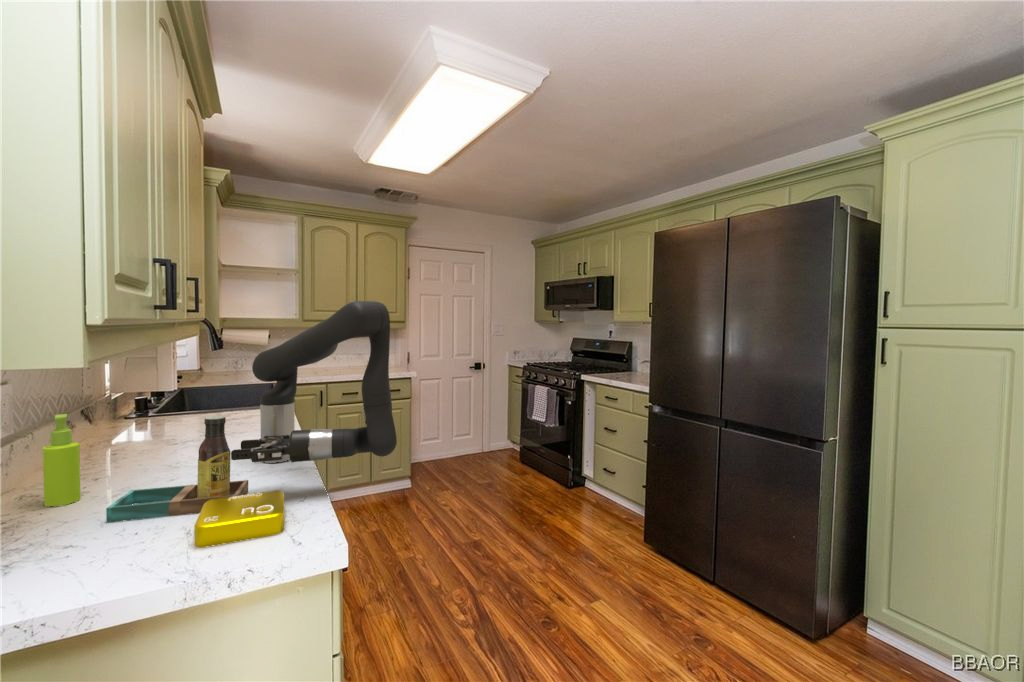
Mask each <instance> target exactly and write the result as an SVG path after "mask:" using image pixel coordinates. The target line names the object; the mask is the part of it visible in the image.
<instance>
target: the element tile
mask: <svg viewBox="0 0 1024 682" xmlns="http://www.w3.org/2000/svg"><path fill="white" fill-rule="evenodd" d="M198 514H199V515H198V516H197V519H196V521H195V524H194V528H193V529H194V530H193V532H194V533H193V534H194V538H193V539H194V546H195V548H207V547H206V546H209V547H213V546H212V545H215V546H219V545H218V544H220V545H223V544H222V543H226V544H230V542H232V543H235V542H234V541H237V542H241V541H240V540H243V541H247V540H246V539H249V540H252V538H254V539H258V538H259V537H260V538H265V537H271V536H275V535H279V534H281V533H282V532H283V531H284V530H285V493H284V491H282V490H271V491H263V492H258V493H257V492H255V493H247V495H240V496H233V497H225V498H218V499H211V500H208V501H207V502H206V503H204V505H203V507H202V509H201V512H200V513H198ZM260 538H259V539H260Z"/></svg>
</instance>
